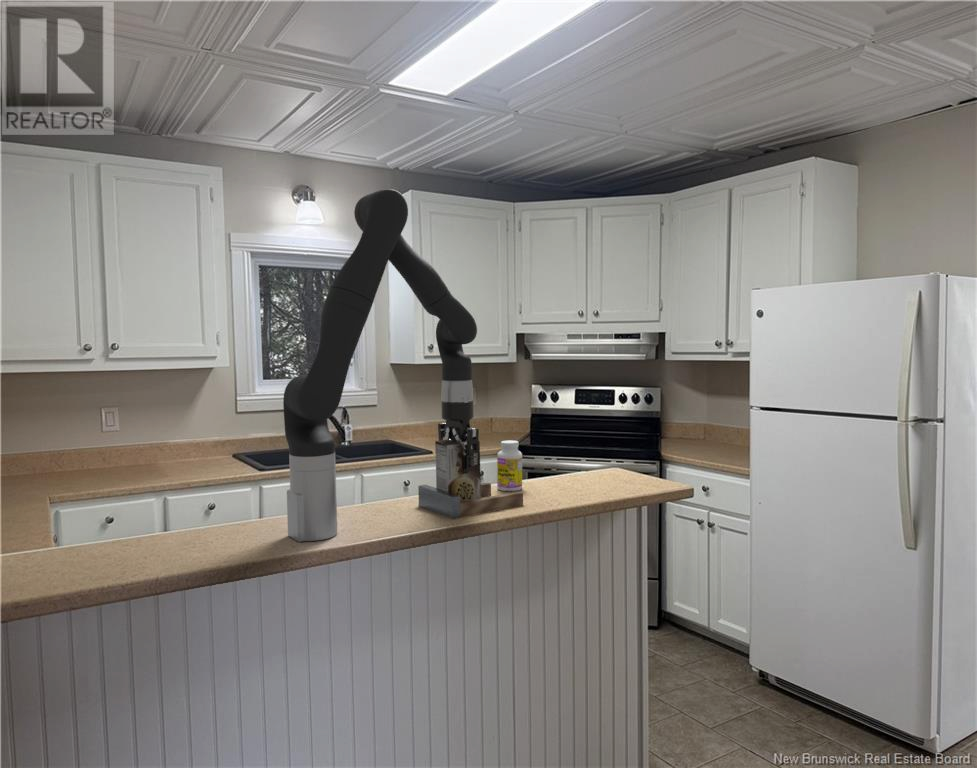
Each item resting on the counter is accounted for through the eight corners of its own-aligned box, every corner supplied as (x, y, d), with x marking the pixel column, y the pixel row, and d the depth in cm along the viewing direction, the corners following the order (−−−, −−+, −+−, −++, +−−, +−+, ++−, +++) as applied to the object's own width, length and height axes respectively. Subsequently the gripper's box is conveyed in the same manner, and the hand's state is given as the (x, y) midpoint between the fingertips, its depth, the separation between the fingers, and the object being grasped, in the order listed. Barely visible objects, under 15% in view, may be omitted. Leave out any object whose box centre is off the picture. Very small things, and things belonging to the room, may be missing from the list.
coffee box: (468, 501, 169) (467, 436, 168) (482, 507, 163) (481, 440, 162) (435, 507, 164) (434, 440, 163) (448, 512, 159) (447, 443, 157)
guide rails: (460, 517, 155) (459, 504, 155) (426, 504, 167) (426, 492, 166) (523, 504, 166) (523, 492, 166) (487, 493, 178) (487, 482, 177)
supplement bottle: (493, 490, 182) (492, 442, 181) (504, 485, 188) (503, 439, 187) (515, 493, 179) (515, 444, 178) (526, 488, 184) (526, 440, 183)
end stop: (453, 519, 154) (452, 497, 153) (418, 506, 166) (418, 485, 165) (460, 517, 155) (460, 495, 154) (425, 504, 167) (425, 484, 166)
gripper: (427, 398, 165) (428, 466, 166) (461, 402, 154) (462, 475, 155) (453, 396, 170) (454, 462, 171) (488, 400, 158) (488, 471, 159)
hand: (458, 468), depth 163 cm, fingers closed on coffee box, 6 cm apart
